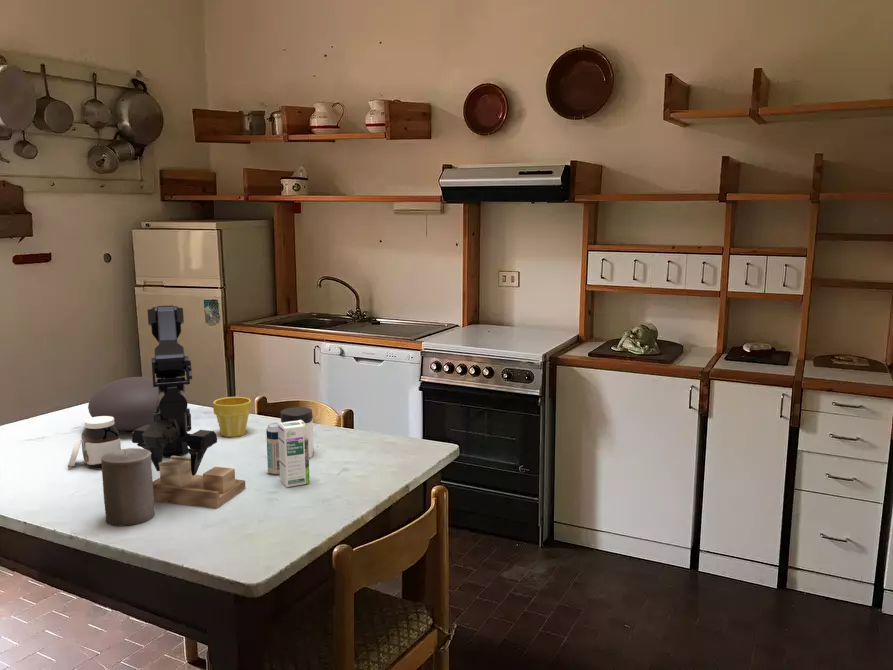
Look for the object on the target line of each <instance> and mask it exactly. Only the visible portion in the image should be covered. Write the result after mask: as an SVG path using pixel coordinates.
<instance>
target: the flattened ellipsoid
mask: <svg viewBox="0 0 893 670" xmlns="http://www.w3.org/2000/svg"><path fill="white" fill-rule="evenodd" d="M157 379H158V378H155V382H157ZM158 400H159V399H158V387H153V377H149V376H131V377H125V378H120V379H117V380H113V381H110V382H109V383H107V384H105V385H102V386H101V387H100V388H98V389H97V390H96V391H94V393H93V394H92V396H91V397H90V399H89V400H88V404H87V405H88V406H87V409H88V413H89V415H90V417H91V418H92V417H98V416H111V417H113V418H114V426H115V427H116V428H117V430H118V431H120V432H121V431H122V432H133V431H134V430H135V429H138V428H140V427H142V426H145V425H152V424H154V412H156V411H157V408H156V403H157V401H158Z"/></svg>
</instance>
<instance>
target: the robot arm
mask: <svg viewBox="0 0 893 670" xmlns="http://www.w3.org/2000/svg"><path fill="white" fill-rule="evenodd" d="M184 316H185V315H184V308H183V307H178V305H174V304H173V305H172V304H171V305H168V304H167V305H164V304H163V305H157V306H152V308H149V309H147V325H148V327H151V334H152V336H153V337H154V338H155V340H156V341H157V343H158V344H157V346H155V348H154V349H153V350H154V357H151V372H152V373H151V374H152V378H153V387H158V399H159V400H158V401H157V403H156V408H157V411H156V412H154V424H152V425H145V426H142V427H140V428H138V429H135V430H134V431H132V433H131V442H132V443H133V444H136V445H137V446H138V447H140V448H141V449H146V450H149V451H150V452H151V463H152V465H153V467H154V468H155V470H156V472H158V473H160V467H159V463H160V462H163V457H164V458H170V457H171V456H180V457H182V456H183V455H184V454H186V453H189V455H190V456H189V457H190V458H191V472H192V475H197V474H198V471H199V467H200V465H201V463H202V460H203V458H204V455H205V454H206V452H207V450H208V449H209V448H211V447H212V446H214V445H215V444H218V435H217V432H215V431H214V430H207V429H206V430H205V429H199V430H197V431H196V432H192V433H188V432H190V431H192V413H190V411H191V410H190V408H188V400H187V395H186V387H185V386H186V385H190V384H191V380H193V372H192V362H191V359H190V358H189V356H188V355H185V349H184V348H185V347H184V346H182V345H181V344H179V343H178V338H179V336H180V335H181V333H182V325H184V323H185V320H184V319H185V317H184ZM155 379H157V382H155Z"/></svg>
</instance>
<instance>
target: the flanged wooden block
mask: <svg viewBox="0 0 893 670" xmlns="http://www.w3.org/2000/svg"><path fill="white" fill-rule="evenodd" d="M169 458H170V459H168V460H166V461H162V462H160V463H159V467H160V471H159V478H160V483H161V485H169V486H177V487H183V486H185V485H186V484H188V483H190V482H191V481H193V475H192V472H191V457H190V456H171V457H169Z"/></svg>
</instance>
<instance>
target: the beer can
mask: <svg viewBox="0 0 893 670" xmlns="http://www.w3.org/2000/svg"><path fill="white" fill-rule="evenodd" d="M278 423H279V422H273V423H269V424H268V425H267V427H266V429H265V430H266V431H265V432H266V451H267V452H266V453H267V454H266V456H267V457H266V459H267V472H268V473H269V474H272V475H276V476H277V475H280V464H279V440H278Z"/></svg>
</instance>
